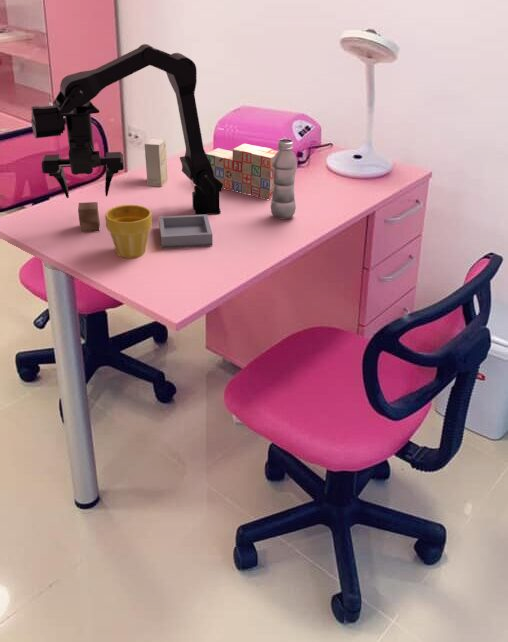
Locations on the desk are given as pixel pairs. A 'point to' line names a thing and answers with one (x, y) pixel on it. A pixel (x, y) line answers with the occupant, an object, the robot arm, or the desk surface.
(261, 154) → the stack of blocks
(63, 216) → the desk surface
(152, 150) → the skincare box
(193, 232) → the tray
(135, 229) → the plant pot
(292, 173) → the plastic bottle
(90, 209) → the walnut block
